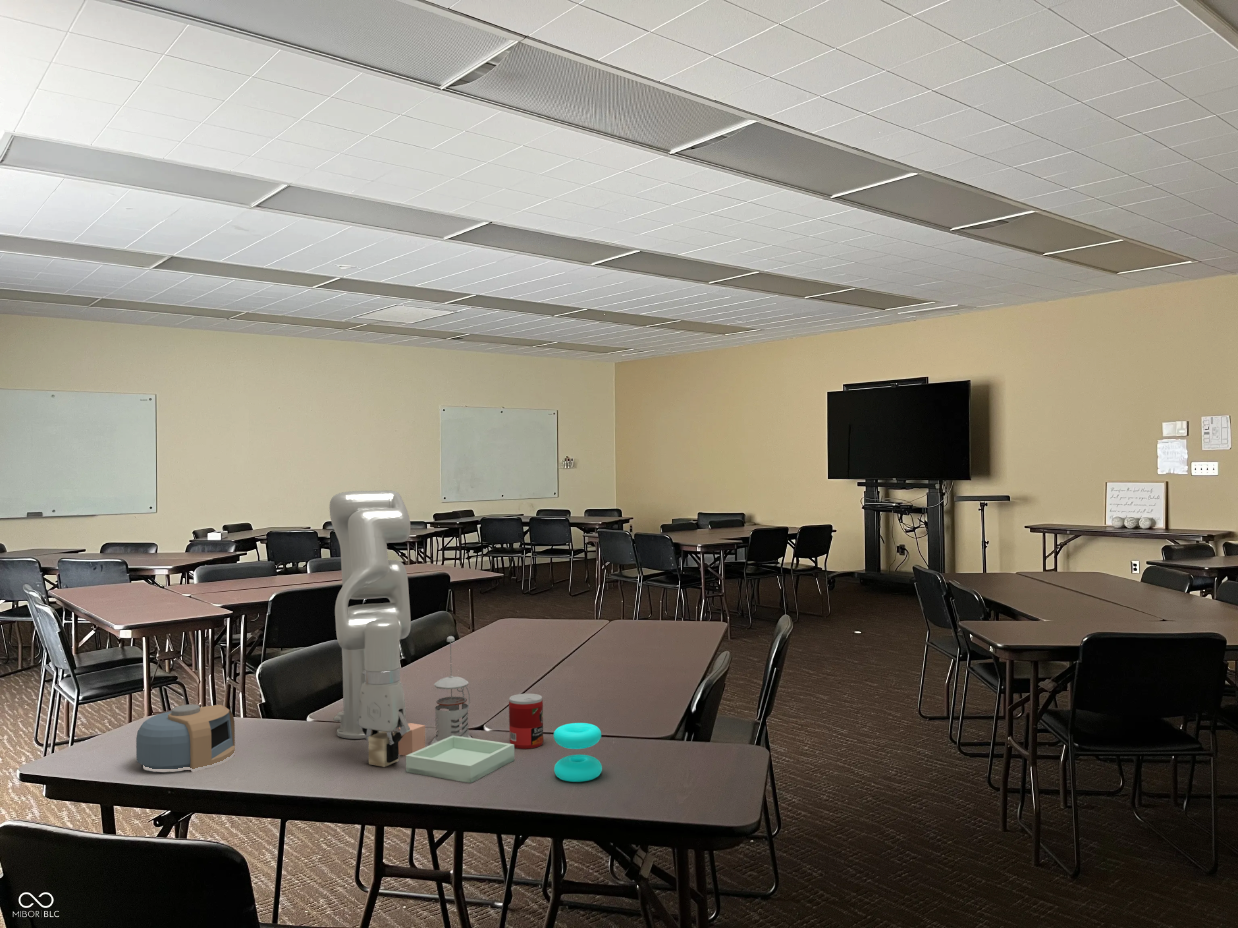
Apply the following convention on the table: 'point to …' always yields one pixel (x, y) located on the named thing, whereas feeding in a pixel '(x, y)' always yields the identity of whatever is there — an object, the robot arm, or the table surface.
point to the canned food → (526, 720)
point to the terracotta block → (412, 739)
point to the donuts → (578, 765)
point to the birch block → (379, 749)
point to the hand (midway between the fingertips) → (383, 758)
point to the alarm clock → (186, 737)
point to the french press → (451, 708)
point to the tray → (460, 758)
